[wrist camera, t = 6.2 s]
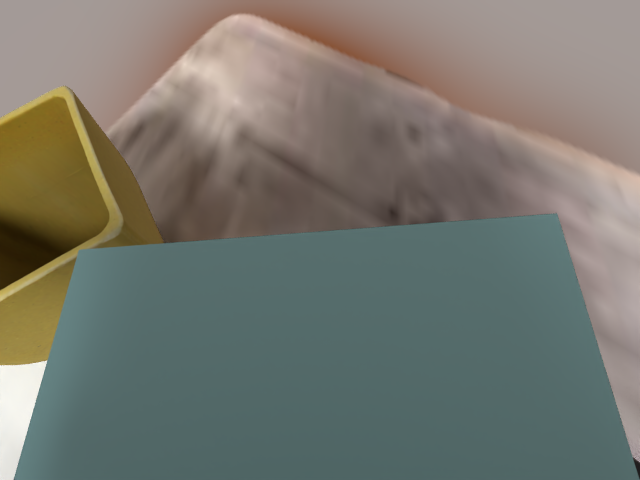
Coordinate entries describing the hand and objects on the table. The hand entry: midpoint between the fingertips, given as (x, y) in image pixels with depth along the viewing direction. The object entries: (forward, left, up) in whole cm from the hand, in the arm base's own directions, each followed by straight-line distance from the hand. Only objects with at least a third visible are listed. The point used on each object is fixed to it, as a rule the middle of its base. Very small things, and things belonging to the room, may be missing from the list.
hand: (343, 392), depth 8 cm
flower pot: (+13, +7, -12) cm, 20 cm away
